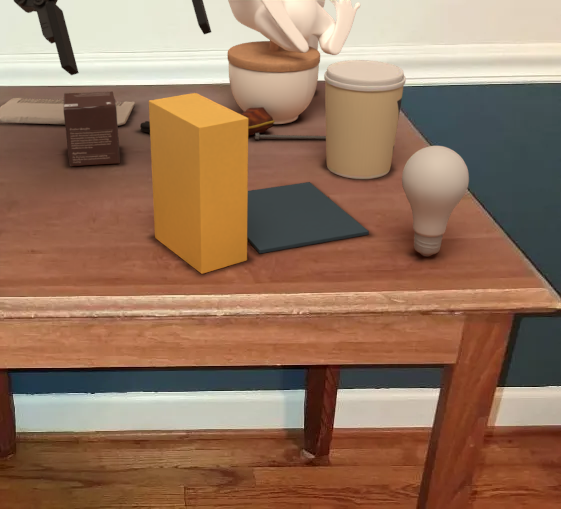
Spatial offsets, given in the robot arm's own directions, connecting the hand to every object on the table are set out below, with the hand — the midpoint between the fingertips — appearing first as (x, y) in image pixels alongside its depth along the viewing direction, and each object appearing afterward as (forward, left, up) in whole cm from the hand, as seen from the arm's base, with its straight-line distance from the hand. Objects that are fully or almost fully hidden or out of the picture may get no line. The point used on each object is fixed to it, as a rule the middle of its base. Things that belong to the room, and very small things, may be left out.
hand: (137, 50), depth 80 cm
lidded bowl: (+26, +26, -17) cm, 40 cm away
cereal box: (+3, -9, -17) cm, 20 cm away
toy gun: (+19, +25, -16) cm, 36 cm away
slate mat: (+14, -5, -17) cm, 23 cm away
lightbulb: (+23, -18, -17) cm, 34 cm away
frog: (+27, +26, -11) cm, 39 cm away
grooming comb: (+1, +41, -16) cm, 44 cm away
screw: (+25, +16, -16) cm, 34 cm away
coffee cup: (+28, +5, -17) cm, 33 cm away
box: (-1, +19, -17) cm, 26 cm away
